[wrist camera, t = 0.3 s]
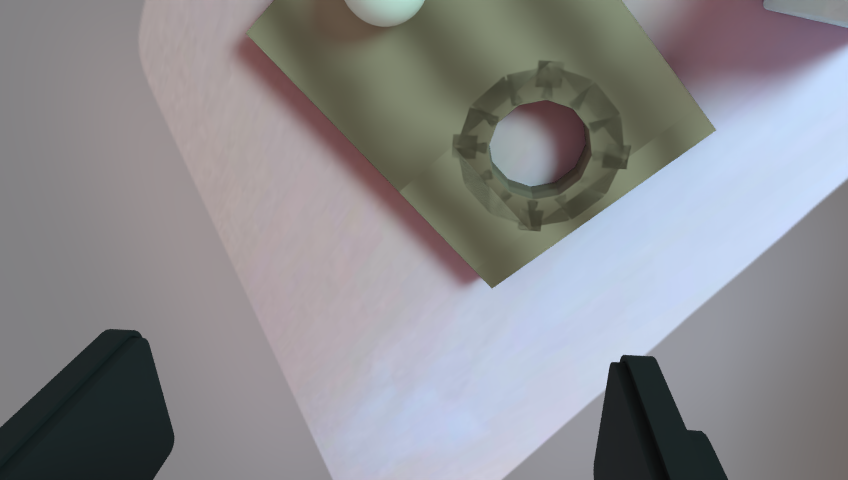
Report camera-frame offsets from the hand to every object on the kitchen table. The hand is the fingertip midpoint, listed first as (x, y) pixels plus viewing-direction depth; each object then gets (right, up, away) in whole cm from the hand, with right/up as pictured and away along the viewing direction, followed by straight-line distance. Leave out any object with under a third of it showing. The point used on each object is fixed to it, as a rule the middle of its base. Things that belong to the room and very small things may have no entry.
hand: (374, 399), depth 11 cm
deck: (+5, +14, +26) cm, 30 cm away
